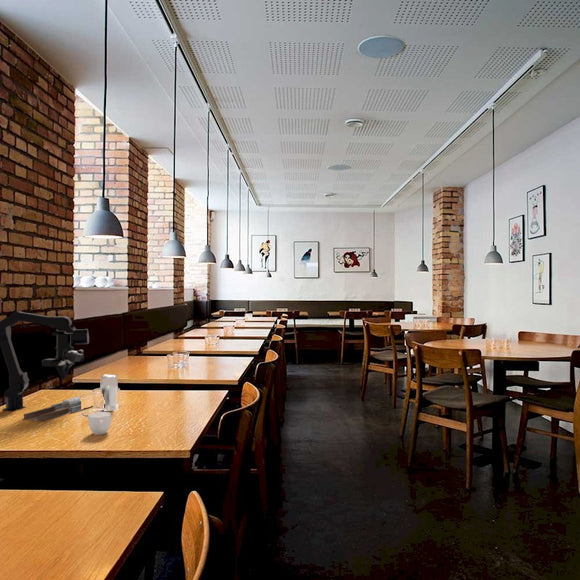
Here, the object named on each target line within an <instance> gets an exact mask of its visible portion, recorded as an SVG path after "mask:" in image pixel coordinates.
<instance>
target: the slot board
mask: <svg viewBox="0 0 580 580" xmlns="http://www.w3.org/2000/svg"><path fill="white" fill-rule="evenodd" d="M80 411H82V410H81V405H79V406H75V407H72V408H71V410H70V411H69V408H64V409H62V402H59V403H56V404H52V405H50V406H49V407H44V408H40V409H37V410H35V411H31V412H26V413H23V417H22V418H21V419H22V420H27V421H33V422H41V423H45V422H47V421H51V420H54V419H57V418H60V417H64V416H68V415H71V414H74V413H76V412H80Z"/></svg>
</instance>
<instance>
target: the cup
mask: <svg viewBox="0 0 580 580" xmlns="http://www.w3.org/2000/svg"><path fill="white" fill-rule="evenodd" d="M87 416H88V417H87V418H88V426H89V429H90V431H91V432H92V434H93V435H96V436H100V435H105V434H106V433H107V432H108V430H109V428H110V426H111V423H112V412H110V411H101V412H100V411H99V412H98V411H97V412H93V413H90V414H89V415H87Z"/></svg>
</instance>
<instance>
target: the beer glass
mask: <svg viewBox="0 0 580 580" xmlns="http://www.w3.org/2000/svg"><path fill="white" fill-rule="evenodd" d="M118 383H119V382H118V375H117V374H113V373H112V374H104V375H101V376H100V386H99V387H100V394H101V393H102V394H103V397H104V400H105V404H104V408H105V409H106V410H107V411H106V412H111V411H113V412H114V411H115V410H117V403H116V400H117V395H118V394H117V393H118V388H119V386H118Z"/></svg>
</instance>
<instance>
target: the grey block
mask: <svg viewBox="0 0 580 580" xmlns="http://www.w3.org/2000/svg"><path fill="white" fill-rule="evenodd" d="M80 397H81V396H74V397H71V398H69V399H77V406H79V405H81V401H80Z"/></svg>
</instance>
